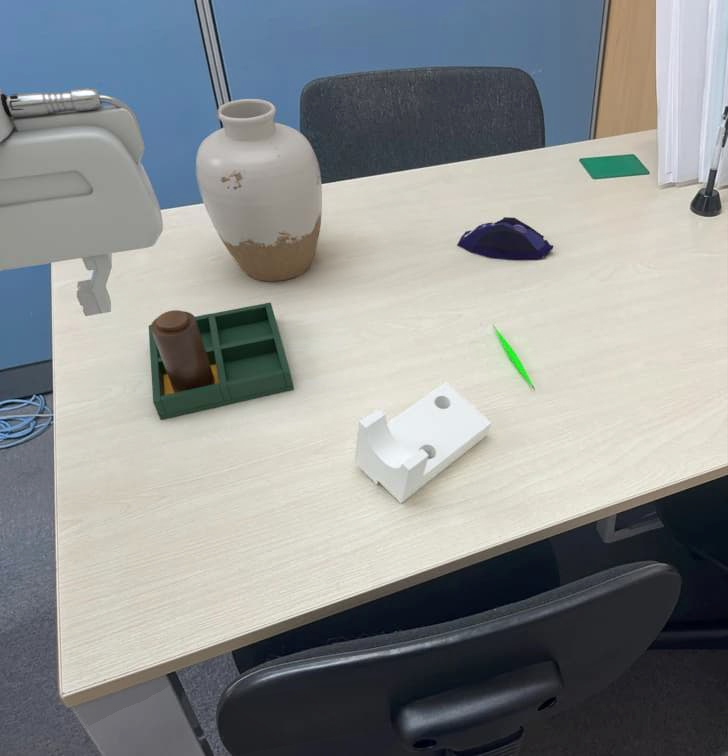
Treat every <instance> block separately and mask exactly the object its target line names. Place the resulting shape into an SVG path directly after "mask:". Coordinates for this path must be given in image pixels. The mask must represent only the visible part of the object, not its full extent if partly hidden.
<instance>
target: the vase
mask: <svg viewBox="0 0 728 756" xmlns="http://www.w3.org/2000/svg"><path fill="white" fill-rule="evenodd" d="M276 115H277V108H276V106H275V105H274V104H273V103H272V102H270V101H268V100H264V99H258V98H242V99H236V100H231V101H229V102H225V103H224V104H222V105H220V106H219V107H218V109H217V111H216V116H217V118H218V120H219V121H221V123H222V126H223V127H222V128H220V129H217V130H215V131H213V132H212V133H210V134H209V135H208V136H207V137H205V138H204V139H203V140H202V142H201V143H200V145H199V147H198V149H197V153H196V158H195V175H196V182H197V187H198V191H199V194H200V197H201V200H202V203H203V206H204V208H205V210H206V213H207V215H208V217H209V218H210V221H211V223H212V225H213V227H214V229H215V231H216V233H217V235H218V236H219V239H220V240H221V241H222V243H223V245H224V246H225V248H226V250H227V251H228V253H229V254H230V255H231V256H232V258H233V259H234V260H235V262H236V264H237V265H238V266H239V267H240V268H241V269H242V270H243V271H244V273H246V274H247V275H248V276H249V277H250V278H252V279H255V280H258V281H262V282H282V281H287V280H290V279H294V278H296V277H298V276H300V275H302V274H304V273H305V272H306V271H308V269H309V268H310V266H311V265H312V262H313V260H314V257H315V253H316V249H317V245H318V242H319V238H320V231H321V226H322V216H323V215H322V214H323V213H322V212H323V184H322V177H321V176H322V175H321V170H320V164H319V161H318V158H317V155H316V153H315V150H314V148H313V147H312V145H311V143H310V142H309V140H308V139H307V138H306V136H304V134H302V132H300V131H299V130H297V129H295V128H293V127H291V126H289V125H286V124H283V123H279V122H275V116H276Z"/></svg>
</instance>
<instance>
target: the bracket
mask: <svg viewBox="0 0 728 756" xmlns="http://www.w3.org/2000/svg"><path fill="white" fill-rule="evenodd" d="M491 425H492V421H491V420H490V419H488V418H487V416H485V415H484V413H482V412H480V410H479V409H478V408H476V407H475V405H473V404H472V403H471V402H469V400H468V399H466V398H465V397H464V396H463V395H462V394H460V392H459V391H457V390H456V389H455V388H454V387H453V386H452V385H451V383H449V382H447V381H445V382H444V383H442V384H440V385H439V386H437V388H435V389H433V390H432V391H431V392H429V393H428V394H426V395H425V396H423V397H422V398H421V399H419V400H418V401H416V402H415V403H413V404H412V405H410V406H409V407H407V408H406V409H405V410H403V411H402V412H400V413H398V414H397V415H396V416H394V417H393V418H391V419H390V420H389V421H387V414H386V413H385V412H384V411H383V410H382V409H381V408H380V407H379V408H377V409H375V410H374V411H373V412H371V413H369V414H368V415H366V416H365V417H364V418H362V419H361V420H359V421H358V428H357V435H356V436H357V437H356V443H355V452H354V460H353V463H354V464H355V465H356V466H357V467H358V468H359V469H360V470H361V471H362V472H363V473H364V474H365V475H366V476H367V477H368V478H369V479H370V480H371V481H372V482H373V483H374V484H375V485H378V484H380V485H382V486H383V488H385V489H386V491H388V492H389V493H390V494H391V495H392V497H394V499H395V500H396V501H398V503H399V504H402V503H405V501H406V500H408V499H409V498H410V497H412V496H413V495H414V494H415V493H416V492H417V491H419V490H420V489H421V488H423V487H424V486H425V485H426V484H428V483H429V482H430V481H432V480H433V479H434V478H435V477H437V476H438V475H439V474H440V473H442V472H443V471H444V470H446V469H447V468H448V467H450V465H452V464H453V463H454V462H455V461H457V460H458V459H459V458H461V457H462V456H463V455H465V453H467V452H468V451H470V450H471V449H472V448H473V447H475V446H476V445H478V444H479V442H481V441H482V440H483V439H485V438H486V437H487V436H488V434H489V431H490V428H491Z"/></svg>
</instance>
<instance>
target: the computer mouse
mask: <svg viewBox="0 0 728 756" xmlns="http://www.w3.org/2000/svg"><path fill="white" fill-rule="evenodd" d="M456 246H458V247H460V248H461V249H463V250H466V251H468V252H469V253H472V254H476V255H479V256H481V257H482V256H483V257H486V258H490V259H497V260H509V261H538V260H540V259H543V258H545V257H546V256H547V255H548V254H549V252H550V251H553V249H554V245H553V244H550V243H549V241H548V239H545V238H544V235H543V234H541V233H540V232H539V231H537V230H535V229H534V228H532V227H531V226H530V225H528V224H526V223H524V222H523V221H521V220H520V219H518V218H516V217H513V216H512V217H507V216H504V217H502V219H500V220H498V221H495V222H487V223H482V224H480V225H478V226H476V227H475V228H474V229H471V230H466V231H465V232H464V233H463V234H462V236H461V237H460V239H459V241H458V242H457V244H456Z"/></svg>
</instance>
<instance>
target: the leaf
mask: <svg viewBox="0 0 728 756" xmlns="http://www.w3.org/2000/svg"><path fill="white" fill-rule="evenodd" d="M492 327H493V329H494V330H495V332H496V334H497V336H498V338H499V340H500V342H501V344H502V346H503V348H504V350H505V351H506V353H507V355H508V357H509V358H510V361H512V363H513V364H514V365H515V367H516V368H517V370H518V371H519V372H520V373H521V375H522V376H523V377H524V378H525V380H526V381H527V382H528V383H529V384H530V386H531V387H532V388H533V389H535V387H534V385H533V383H532V381H531V379H530V377H529V375H528V373H527V371H526V369H525V367H524V365H523V364H522V362H521V360H520V358H519V357H518V354H517V353H516V352H515V350H514V349H513V348H512V346H511V345H510V344H509V343H508V341H507V340H506V338H505V337H504V336H503V335H502V334H501V332H500V331H499V330H498V329H497V328H496V326H494V324H492Z"/></svg>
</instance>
